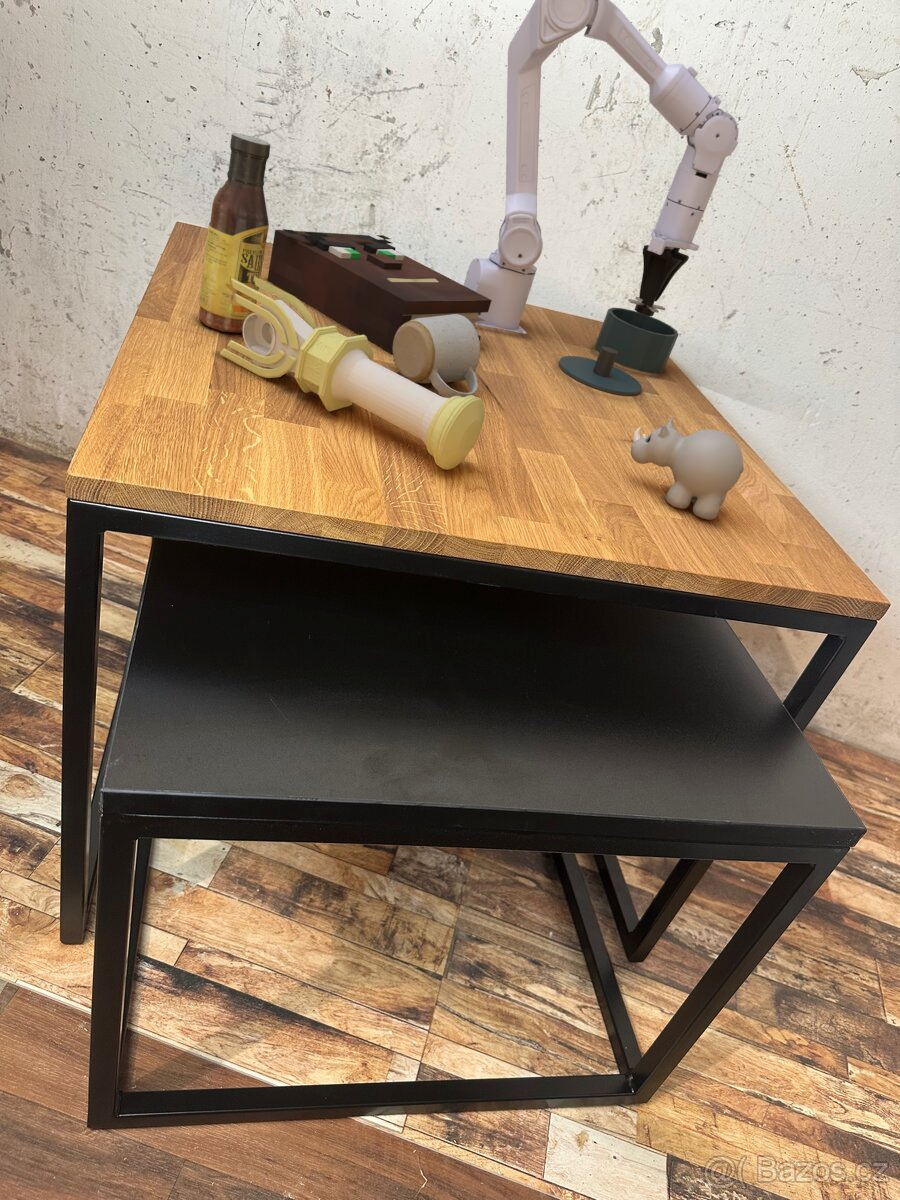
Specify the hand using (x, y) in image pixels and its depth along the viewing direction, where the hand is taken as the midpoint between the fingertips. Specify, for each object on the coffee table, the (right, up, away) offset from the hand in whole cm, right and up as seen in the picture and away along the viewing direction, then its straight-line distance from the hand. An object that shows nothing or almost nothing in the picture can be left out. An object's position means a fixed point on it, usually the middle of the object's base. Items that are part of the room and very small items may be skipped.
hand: (647, 299), depth 129 cm
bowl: (-2, -7, +7) cm, 10 cm away
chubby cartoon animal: (-6, -34, -35) cm, 49 cm away
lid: (-8, -13, -7) cm, 17 cm away
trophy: (-41, -26, -41) cm, 63 cm away
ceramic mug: (-31, -19, -26) cm, 45 cm away
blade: (0, -2, +1) cm, 2 cm away
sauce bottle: (-56, -13, -29) cm, 64 cm away
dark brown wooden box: (-40, -6, -10) cm, 42 cm away
